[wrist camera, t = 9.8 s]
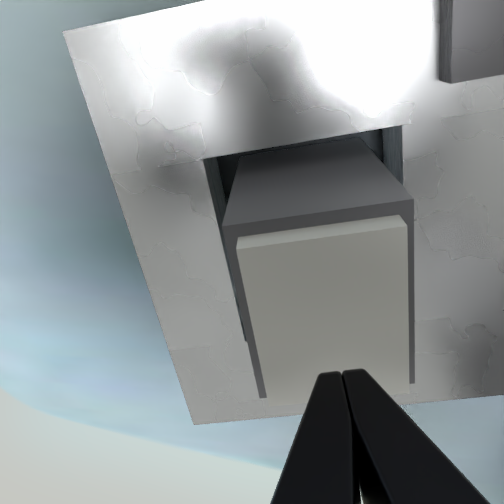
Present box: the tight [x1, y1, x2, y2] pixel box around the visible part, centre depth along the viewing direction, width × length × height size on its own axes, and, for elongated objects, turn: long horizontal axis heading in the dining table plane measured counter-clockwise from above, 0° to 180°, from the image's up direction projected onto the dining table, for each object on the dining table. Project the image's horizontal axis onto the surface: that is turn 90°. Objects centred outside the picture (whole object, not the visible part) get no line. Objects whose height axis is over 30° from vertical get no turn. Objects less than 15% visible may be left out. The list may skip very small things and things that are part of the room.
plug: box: [222, 137, 415, 407], centre depth 12 cm, size 5×4×7 cm
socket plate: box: [62, 0, 504, 425], centre depth 14 cm, size 14×13×3 cm
